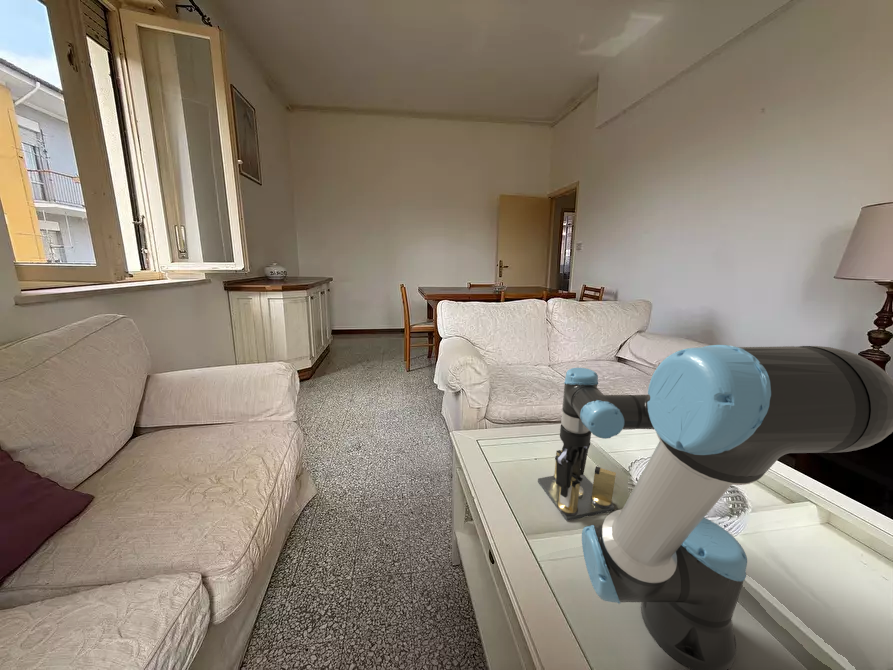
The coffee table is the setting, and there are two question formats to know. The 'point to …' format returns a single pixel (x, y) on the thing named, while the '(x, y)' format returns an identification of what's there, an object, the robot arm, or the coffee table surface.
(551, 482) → the plate
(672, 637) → the robot arm
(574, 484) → the front knob
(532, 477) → the coffee table surface
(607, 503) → the side knob
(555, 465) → the far knob
